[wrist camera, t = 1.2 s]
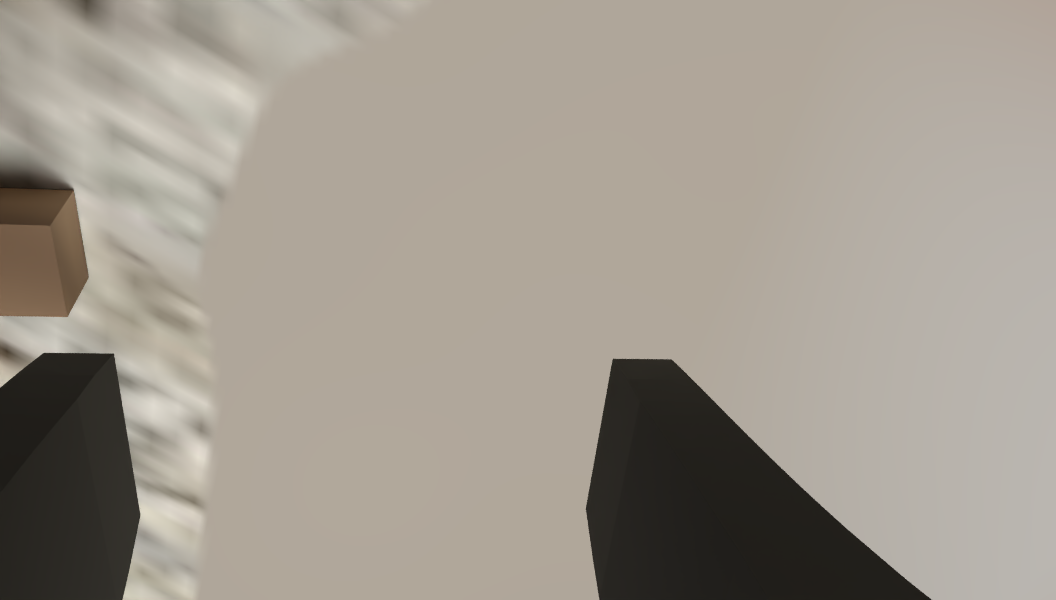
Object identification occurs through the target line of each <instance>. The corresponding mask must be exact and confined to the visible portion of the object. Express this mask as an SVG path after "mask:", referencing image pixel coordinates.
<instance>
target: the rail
mask: <svg viewBox="0 0 1056 600" xmlns="http://www.w3.org/2000/svg"><path fill="white" fill-rule="evenodd" d="M88 278H89V276H88V271H87V265H86V259H85V253H84V247H83V242H82V236H81V230H80V224H79V218H78V213H77V207H76V201H75V195H74V190H46V189H18V188H0V316H46V317H68V315H69V313H70V311H71V309H72V308H73V306H74V304H75V302H76V300H77V298H78V296H79V295H80V293H81V291H82V289H83V287H84V285H85V283H86V282H87V280H88Z"/></svg>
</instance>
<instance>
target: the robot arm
mask: <svg viewBox="0 0 1056 600" xmlns="http://www.w3.org/2000/svg"><path fill="white" fill-rule="evenodd" d="M586 512H587V520H588V527H589V534H590V541H591V547H592V555H593V562H594V568H595V575H596V581H597V587H598V593H599V599H600V600H931V599H930V598H929V597H927V596H926V595H925V594H924V593H922V592H921V591H920V590H919V589H917V588H916V587H915V586H914V585H912V584H911V583H910V582H909V581H907V580H906V579H905V578H904V577H903V576H901V575H900V574H899V573H898V572H896V571H895V570H894V569H893V568H892V567H891V566H890V565H888V564H887V563H886V562H885V561H884V560H883V559H881V558H880V557H879V556H878V555H877V554H875V553H874V552H873V551H872V550H871V549H870V548H869V547H867V546H866V545H865V544H864V543H863V542H861V541H860V540H859V539H858V538H857V537H856V536H854V535H853V534H852V533H851V532H850V531H848V530H847V529H846V528H845V527H844V526H843V525H842V524H841V523H840V522H839V521H837V520H836V519H835V518H834V517H833V516H832V515H831V514H830V513H829V512H827V511H826V510H825V509H824V508H823V507H822V506H821V505H820V504H819V503H818V502H816V501H815V500H814V499H813V498H812V497H811V496H810V495H809V494H808V493H807V492H806V491H804V490H803V488H801V487H800V486H799V485H798V484H797V483H796V482H795V481H794V480H793V479H792V478H791V477H790V476H789V475H788V474H787V473H786V472H785V471H784V470H782V469H781V468H780V467H779V466H778V465H777V464H776V463H775V462H774V461H773V460H772V459H771V458H770V457H769V456H768V455H767V454H766V453H765V452H764V451H763V450H762V449H761V448H760V447H759V446H758V445H757V444H756V443H755V442H754V441H753V440H752V439H751V438H750V437H748V435H747V434H746V433H745V432H744V431H743V430H742V429H741V428H740V427H739V426H738V425H737V424H736V423H735V422H734V421H733V420H732V419H731V418H730V417H729V416H728V415H727V414H726V413H725V412H724V411H723V410H722V409H721V408H720V407H719V406H718V405H717V404H716V403H715V402H714V401H713V400H712V399H711V398H710V397H709V396H708V395H707V394H706V393H705V392H704V391H703V390H702V389H701V388H700V387H699V386H698V385H697V384H696V383H695V382H694V381H693V380H692V379H691V378H690V377H689V376H688V375H687V374H686V373H685V372H684V371H683V370H682V369H681V368H680V367H679V366H678V365H677V364H676V363H675V362H674V361H672V360H667V359H666V360H664V359H613V361H612V366H611V372H610V377H609V383H608V389H607V394H606V399H605V405H604V411H603V416H602V423H601V428H600V433H599V438H598V444H597V450H596V455H595V461H594V467H593V472H592V477H591V483H590V489H589V494H588V500H587V505H586ZM139 519H140V510H139V504H138V498H137V492H136V486H135V480H134V474H133V468H132V461H131V455H130V449H129V443H128V437H127V431H126V425H125V419H124V413H123V407H122V401H121V394H120V388H119V382H118V376H117V370H116V364H115V358H114V354H96V353H43V354H42V355H41V356H39V357H38V358H37V359H35V360H34V361H33V362H31V363H30V364H29V365H28V366H26V367H25V368H24V369H23V370H21V371H20V372H19V373H18V374H16V375H15V376H14V377H13V378H12V379H10V380H9V381H8V382H7V383H5V384H4V385H3V386H2V387H1V388H0V600H122V599H123V595H124V590H125V586H126V582H127V577H128V573H129V568H130V563H131V558H132V554H133V549H134V544H135V539H136V534H137V529H138V524H139Z"/></svg>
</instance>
